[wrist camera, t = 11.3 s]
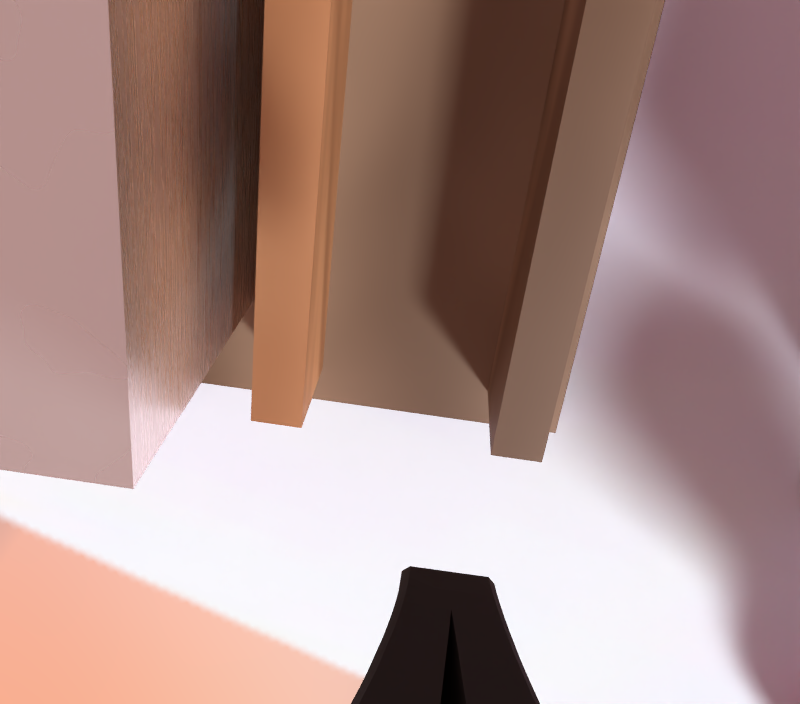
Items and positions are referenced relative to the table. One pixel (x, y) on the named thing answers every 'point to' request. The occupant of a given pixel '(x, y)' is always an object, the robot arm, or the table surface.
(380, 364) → the rack
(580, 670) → the table surface
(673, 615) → the table surface
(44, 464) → the wooden block
